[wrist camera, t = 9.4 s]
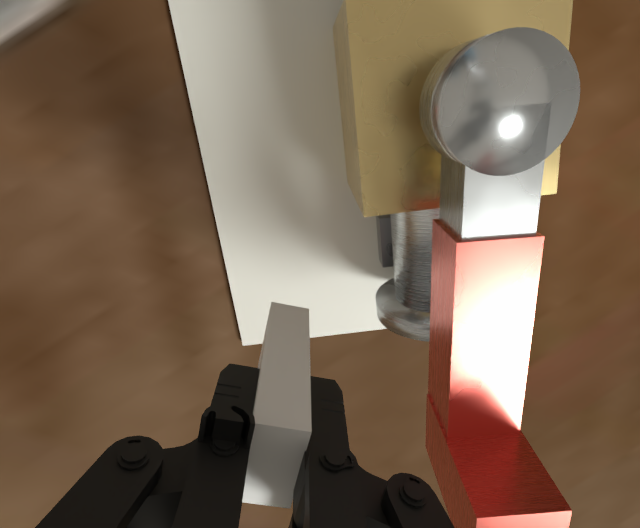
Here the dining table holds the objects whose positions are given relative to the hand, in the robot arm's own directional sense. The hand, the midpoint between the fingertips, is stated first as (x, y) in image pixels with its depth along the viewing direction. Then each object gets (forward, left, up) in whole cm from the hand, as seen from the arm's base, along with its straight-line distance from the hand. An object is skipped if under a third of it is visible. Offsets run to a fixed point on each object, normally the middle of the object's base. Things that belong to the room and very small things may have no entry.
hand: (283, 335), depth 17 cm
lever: (-1, +8, -1) cm, 8 cm away
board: (-6, +3, -10) cm, 13 cm away
